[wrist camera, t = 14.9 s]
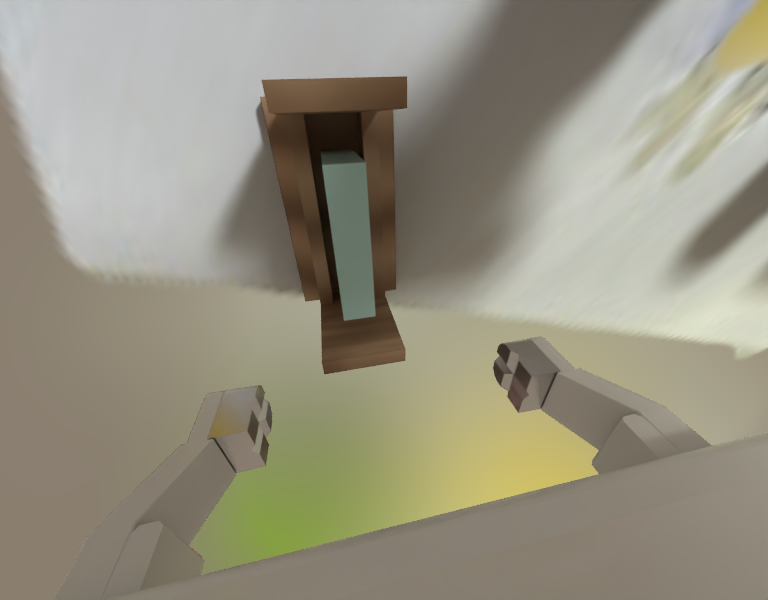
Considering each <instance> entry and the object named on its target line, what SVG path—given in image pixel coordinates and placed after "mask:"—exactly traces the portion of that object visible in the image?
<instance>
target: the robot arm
mask: <svg viewBox="0 0 768 600" xmlns="http://www.w3.org/2000/svg"><path fill="white" fill-rule="evenodd" d="M497 352H498V354H499V355H500V356H499V357H498V358H497V359H496V360H495V362H494V367H493V369H494V375H495V377H496V380H497V381H498V383H499V385H500V386H501V387H503V388H504V389H506V390H508V398H509V400H510V401H511V403H512V404H513V405H514V407H515V409H516V410H517V411H518V413H520V412H525V411H531V410H536V409H541V410H542V411H544V412H545V413H546V414H548V415H549V416H551V417H552V418H554V419H555V420H556V421H558V422H559V423H561V424H563V425H564V426H565V427H566V428H568V429H569V430H571V431H572V432H574V433H575V434H577V435H578V436H580V437H581V438H582V439H584V440H585V441H587V442H588V443H589V444H591V445H592V446H594V447H595V448H597V449H598V450H599V451H598V453H597V454H596V456H595V457H594V459H593V460H592V465H593V467H594V468H595V469H596V471H597V472H598V473H599V474H598V475H595V476H590V477H586V478H583V479H579V480H575V481H571V482H567V483H563V484H559V485H555V486H551V487H547V488H543V489H539V490H536V491H531V492H527V493H523V494H519V495H515V496H511V497H507V498H504V499H500V500H496V501H492V502H488V503H484V504H480V505H476V506H472V507H468V508H464V509H460V510H456V511H452V512H448V513H444V514H440V515H436V516H433V517H429V518H425V519H421V520H417V521H413V522H409V523H405V524H401V525H397V526H393V527H389V528H385V529H381V530H377V531H373V532H369V533H365V534H362V535H358V536H354V537H350V538H346V539H342V540H338V541H334V542H330V543H326V544H322V545H318V546H314V547H310V548H306V549H302V550H299V551H294V552H291V553H287V554H283V555H279V556H275V557H271V558H267V559H263V560H259V561H255V562H251V563H248V564H243V565H239V566H235V567H231V568H228V569H224V570H220V571H216V572H212V573H208V574H204V575H201V573H202V569H203V565H204V559H203V558H202V556H201V555H200V554H199V553H197V552H196V551H195V550H194V549H193V548H191V547H190V546H189V544H190V543H191V541H192V540H193V538H194V537H195V535H196V534H197V532H198V531H199V529H200V528H201V527H202V525H203V524H204V522H205V521H206V519H207V518H208V516H209V515H210V513H211V512H212V510H213V509H214V507H215V506H216V504H217V503H218V501H219V500H220V498H221V497H222V495H223V494H224V492H225V491H226V489H227V488H228V486H229V485H230V483H231V482H232V480H233V479H234V477H235V476H236V473H238V472H242V471H246V470H250V469H254V468H258V467H263V466H266V460H267V454H268V447H269V444H268V441H267V439H266V437H267V435H268V434H269V433H270V432H271V426H272V412H271V407H270V404H269V402H268V401H267V400H265V399H264V393H265V392H264V390H263V388H262V386H252V387H245V388H238V389H232V390H226V391H220V392H213V393H209V394H208V395H207V396H206V397H205V398H204V401H203V403H202V406H201V408H200V411H199V413H198V416H197V419H196V421H195V423H194V426H193V428H192V431H191V434H190V436H189V438H188V441H187V443H186V444H183V445H180V446H179V447H178V448H177V449H176V450H175V451H174V452H173V453H172V454H171V455H170V456H169V457H168V458H167V459H166V460H165V461H164V462H163V463H162V464H161V465H160V466H159V467H158V468H157V469H156V470H155V471H154V472H153V473H152V474H151V475H150V476H148V477H147V478H146V479H145V480H144V481H143V482H142V483H141V484H140V485H139V486H138V487H137V488H136V489H135V490H134V491H133V492H132V493H131V494H130V495H129V496H128V497H127V498H126V499H125V500H124V501H123V502H122V503H121V504H120V505H119V506H118V507H117V508H116V509H115V510H114V511H113V512H111V513H110V514H109V515H108V516H107V517H106V518H105V519H104V520H103V521H102V522H101V523H100V524H99V525H98V526H97V527H96V528H95V529H94V530H93V531H92V532H91V533H90V534H89V536H88V537H87V539H86V541H85V543H84V545H83V546H82V548H81V550H80V552H79V554H78V556H77V558H76V559H75V561H74V563H73V565H72V567H71V568H70V570H69V572H68V574H67V576H66V578H65V580H64V581H63V583H62V585H61V587H60V589H59V590H58V592H57V594H56V596H55V598H54V600H768V432H764V433H760V434H756V435H752V436H748V437H744V438H740V439H736V440H733V441H729V442H725V443H721V444H717V445H713V446H712V445H710V444H709V443H708V442H707V441H706V440H704V439H703V438H702V437H701V436H700V435H699V434H697V433H696V432H695V431H694V430H693V429H691V428H690V427H689V426H688V425H687V424H685V423H684V422H683V421H682V420H681V419H680V418H678V417H677V416H676V415H675V414H674V413H673V412H671V411H670V410H669V409H668V408H667V407H666V406H664V405H661V404H659V403H657V402H654V401H652V400H650V399H648V398H645V397H643V396H641V395H639V394H637V393H634V392H632V391H630V390H628V389H625V388H623V387H621V386H619V385H616V384H614V383H612V382H610V381H607V380H605V379H603V378H601V377H598V376H596V375H594V374H592V373H589V372H587V371H585V370H583V369H580V368H578V369H575V368H574V367H573V366H572V365H571V364H570V363H569V362H568V361H567V360H566V359H565V358H564V357H563V356H562V355H561V354H560V353H559V352H558V351H557V350H556V349H555V348H554V347H553V346H552V345H551V344H550V343H549V342H548V341H547V340H546V339H545V338H543V337H534V338H529V339H523V340H517V341H512V342H507V343H501V344H500V345H499V346H498V350H497Z"/></svg>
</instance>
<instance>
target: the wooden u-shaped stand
mask: <svg viewBox="0 0 768 600" xmlns="http://www.w3.org/2000/svg"><path fill="white" fill-rule="evenodd" d="M262 84H263V88H264V93H265V97H260V98H261V102H262V107H263V111H264V116H265V120H266V125H267V129H268V134H269V138H270V143H271V147H272V152H273V156H274V161H275V166H276V170H277V175H278V179H279V184H280V188H281V193H282V197H283V202H284V206H285V211H286V215H287V220H288V224H289V229H290V233H291V238H292V242H293V247H294V251H295V256H296V260H297V265H298V269H299V274H300V279H301V283H302V288H303V292H304V297H305V301H312V300H320V302H321V329H322V330H321V331H322V365H323V369H324V374H329V373H334V372H340V371H347V370H352V369H358V368H364V367H369V366H376V365H381V364H387V363H394V362H399V361H405V347H404V345H403V342H402V339H401V337H400V334H399V332H398V329H397V326H396V324H395V321H394V318H393V316H392V313H391V310H390V308H389V305H388V302H387V300H386V297H385V291H388V290H395V289H396V263H395V198H394V132H393V110H394V109H403V108H407V77H367V78H324V79H281V80H262ZM334 149H352V150H353V151H354V152H355V153H356V154H357V155H358V156H359V157H360V158H362V159H363V160H364V161H365V162H366V173H367V189H368V204H369V220H370V235H371V251H372V266H373V282H374V297H375V313H376V316H374V317H367V318H360V319H353V320H346V321H344V318H343V311H342V304H341V296H340V289H339V282H338V275H337V268H336V261H335V254H334V247H333V240H332V233H331V226H330V219H329V211H328V204H327V197H326V190H325V183H324V176H323V169H322V160H321V150H334Z"/></svg>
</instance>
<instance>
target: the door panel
mask: <svg viewBox="0 0 768 600" xmlns="http://www.w3.org/2000/svg"><path fill="white" fill-rule="evenodd" d="M321 160H322V169H323V176H324V183H325V190H326V197H327V204H328V211H329V219H330V226H331V233H332V240H333V247H334V254H335V261H336V268H337V275H338V282H339V289H340V296H341V304H342V311H343V318H344V321H346V320H353V319H360V318H367V317H374V316H376V313H375V297H374V282H373V266H372V251H371V235H370V220H369V204H368V189H367V173H366V162H365V161H364V160H363V159H362V158H360V157H359V156H358V155H357V154H356V153H355V152H354V151H353V150H352V149H334V150H321Z"/></svg>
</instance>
